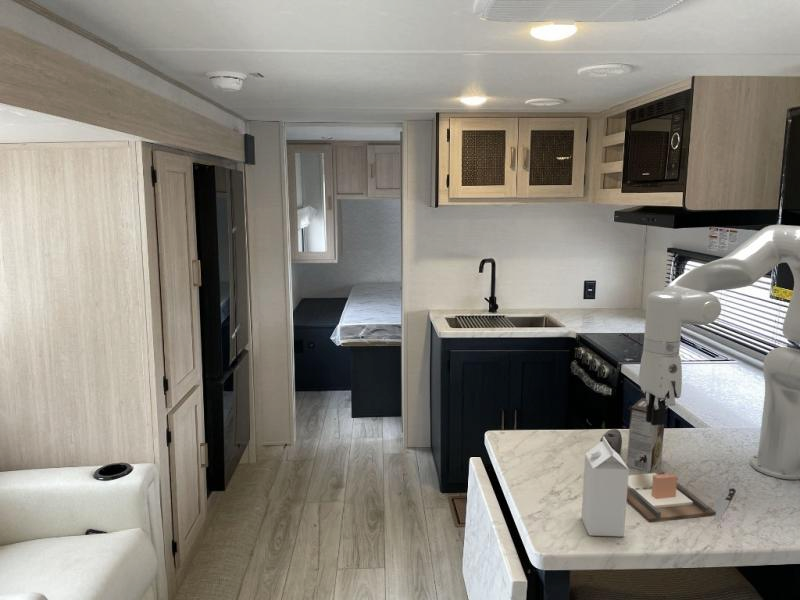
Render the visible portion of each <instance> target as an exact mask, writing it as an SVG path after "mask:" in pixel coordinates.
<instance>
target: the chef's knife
mask: <svg viewBox="0 0 800 600" xmlns="http://www.w3.org/2000/svg"><path fill="white" fill-rule="evenodd" d="M728 491H729V493H728V494H727V496H726V497H725V498H724V499H723V498H715V499H714V503H713V506H712V507H711V508H712V509H713V510H714V511H716V515H712V517H714V518H713V520H716V521H715V522H717V523H720V522H721V520H722V518H723V516H724V514H725V512H726V511H727V509H728V507H729V505H730V503H731V501H732V498H733V496H734V494H735V493H736V489H735V488H729V489H728Z"/></svg>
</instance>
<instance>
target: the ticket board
mask: <svg viewBox="0 0 800 600" xmlns="http://www.w3.org/2000/svg"><path fill="white" fill-rule="evenodd" d="M660 474H666V472H653V473H652V472H651V473H650V472H649V473H642V474H630V475H628V488H627V501H626V503H628V504H629V505H630V507H632V508H633V509H634V510H635V511H636V512H638V513H639V514H640V515H641V516H642V517H643V518H644V519H645V520H646V521H648V523H656V522H664V521H665V522H666V521H675V520H683V519H692V518H701V517H703V518H704V517H710V516H712V517H713V515H716V511H714V510H713V509H712V508H713V507H710V505H708V504H706V502H704V501H703V500H701V499H699V498H698V497H697V496H696V495H695V494H694V493H692V492H691V491H689V490H688V489H687V488H685V487H684V486H683V485H681V484H680V483H679V482H677V486H676V489H677V490H678V491H680V492H681V493H682V494H684V495H685V496H686V497H687V498H689V499H690V500H691V501H693V504H691V505H681V506H672V507H662V508H655V507H654V506H653V505H652V504H651V503H649V502H648V501H647V500H646V499H645V498H644V497H643V496H641V495H640V494H639V493H638V492H637V490H647V489H652V483H653V475H660Z"/></svg>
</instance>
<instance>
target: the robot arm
mask: <svg viewBox="0 0 800 600" xmlns="http://www.w3.org/2000/svg"><path fill="white" fill-rule="evenodd" d="M782 263H786V264H787V265H788V266H789V268H790V271H791V273H792V276H793V282H794V283H793V290H792V294H791V298H790V300H789V304H788V308H787V310H786V313H785V317H784V320H783V325H782V334H783V336H784V338H785V339H787V340H788V341H790V342H793V343H796V344H799V345H800V225H790V224H789V225H785V224H772V225H771V224H770V225H768V226H765V227H763V228H762V229H760V230H759V231H757V232H756V233H754V235H752V236H751V237H749V238H748V239H747V240H746V241H745V242H743V243H741V245H739V246H738V247H737V248H735V249H734V250H733V251H731V252H730V253H729V254H727V255H726V256H724V257H721V258H718V259H715V260H712V261H710V262H707V263H705V264H701V265H698V266H697V267H694V268H691V269H689V270H687V271H685V272H683V273H682V274H680V275H679V276H677V277H676V278H675V279H674V280H672V281H671V282H669V284H667V285H666V286H665V287H664V289H663V290H658V291H657V290H655V291H652V292H650V293H649V294H648V295H647V300H646V310H645V311H646V312H645V322H644V335H643V347H642V348H643V349H642V355H641V360H640V365H639V373H638V374H639V375H638V385H639V387H640V390H641V391H642V392H643V394H644V396H645V399H646V404H647V413H646V421H647V422H651V424H652V425H664V426H665V423H666V411H667V409H668V408H669V407H671V406H672V407H673V406H675V405H676V399H680V398H681V395H682V385H683V383H682V382H683V379H682V377H683V375H682V373H683V368H682V358H681V356H680V350H681V349H680V347H681V346H680V345H681V336H682V325H695V326H704V325H709V324H712V323H713V322H715V321H716V320H717V319H718V318H719V316H720V315H721V312H722V304H721V302H720V300H719V299H718V298H717V297H716V296H715V295H714V294H712V293H713V292H716V291H717V292H718V291H726V290H727V291H728V290H734V289H735V290H736V289H743V288H746V287H750V286H752V285H753V284H755V283H756V282H758V281H759V280H760V279H762V277H763V276H765V275H767V274H768V273H769V272H770V271H771V270H773V269H774V268H775V267H777V266H778V265H779V264H782ZM762 367H763V368H762V369H763V378H764V388H765V389H764V399H763V400H764V401H763V410H762V417H761V426H760V433H759V441H758V442H759V444H758V450H757V454H754V455H752V456H751V457H750V459H749V464H750V466H751V467H752V468H754V470H756V471H758V472H760V473H762V474H763V475H764V474H765V475H767V476H770V477H773V478H778V479H784V480H793V481H794V480H800V349H798V348H794V347H789V346H788V347H787V346H779V347H775V348H772V350H770V351H769V352H768V353H767V354H766V356H765V358H764V361H763V365H762Z"/></svg>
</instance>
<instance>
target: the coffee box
mask: <svg viewBox="0 0 800 600" xmlns="http://www.w3.org/2000/svg"><path fill="white" fill-rule="evenodd" d="M646 413H647V404H646V397H640V399H639V400H638V401H636V403H634V404H633V405H632V406H631V407H630V415H629V416H630V417H629V431H628V432H629V433H628V444H627V445H628V446H627V458H626V466H627V467H628V468H629V467H630V468H633V469H637V470H639V471H643V472H646V473H650V472H651V473H652V472H653V471H654V469H656V467H657V466H658V465H659V464H660V463H661V462H662V459H663V457H662V456H663V448H664V436H665V435H664V433H665V424H664V425H652V424H651V422H647V421H646Z"/></svg>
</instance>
